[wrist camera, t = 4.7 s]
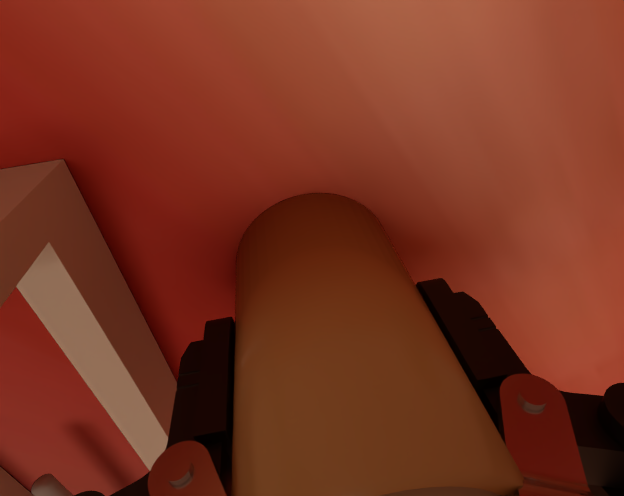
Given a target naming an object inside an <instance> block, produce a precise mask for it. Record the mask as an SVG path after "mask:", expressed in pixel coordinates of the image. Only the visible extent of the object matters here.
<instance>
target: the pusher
mask: <svg viewBox="0 0 624 496" xmlns="http://www.w3.org/2000/svg"><path fill="white" fill-rule="evenodd" d="M31 492H32V494H33V495H34V496H73V495H72V494H71V493H70V492H69V491H68V490H67V489H66V488H65V487H64V486H63V485H62V484H61V483H60V482H59V481H58V480H57V479H56V478H55V477H54V476H53V475H52V474H45V475H42V476H41V477H39V478H38V479H37V480H36V481H35V482H34V484H33V486H32V488H31Z"/></svg>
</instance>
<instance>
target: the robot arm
mask: <svg viewBox="0 0 624 496" xmlns="http://www.w3.org/2000/svg"><path fill="white" fill-rule="evenodd" d="M416 287H417V289H418V291H419V292H420V294H421V296H422V298H423V299H424V301H425V303H426V305H427V306H428V308H429V310H430V312H431V314H432V315H433V317H434V319H435V321H436V322H437V324H438V326H439V328H440V329H441V331H442V333H443V335H444V336H445V338H446V340H447V342H448V344H449V345H450V347H451V349H452V351H453V352H454V354H455V356H456V358H457V359H458V361H459V363H460V365H461V366H462V368H463V370H464V372H465V374H466V375H467V377H468V379H469V381H470V382H471V384H472V386H473V388H474V389H475V391H476V393H477V395H478V397H479V398H480V400H481V402H482V404H483V405H484V407H485V409H486V411H487V412H488V414H489V416H490V418H491V419H492V421H493V423H494V425H495V427H496V428H497V430H498V432H499V434H500V435H501V437H502V439H503V441H504V443H505V445H506V447H507V449H508V450H509V452H510V454H511V456H512V458H513V459H514V461H515V463H516V465H517V466H518V468H519V470H520V472H521V474H522V475H523V477H524V480H523V485H522V486H517V488H516V491H515V493H514V496H624V383H617V384H614V385H612V386H610V387H609V388H608V389H607V390H606V392H605V394H604V396H599V395H588V394H578V393H569V392H563V391H560V390H558V389H557V388H556V387H555V386H553V385H552V384H551V383H549V382H548V381H546V380H544V379H542V378H540V377H538V376H535V375H532V374H531V373H530V372H529V371H528V370H527V368H526V367H525V366H524V364H523V363H522V361H521V360H520V359H519V357H518V356H517V355H516V353H515V352H514V350H513V349H512V348H511V346H510V345H509V344H508V342H507V341H506V339H505V338H504V337H503V335H502V334H501V333H500V331H499V330H498V329H496V326H495V324H494V323H493V322H492V320H491V319H490V318H488V315H487V313H486V312H485V311H484V309H483V308H482V306H481V305H480V304H479V302H478V301H476V300H475V299H473V298H472V297H470V296H469V295H467V294H466V293H464V292H458V293H453V292H452V290H451V289H450V287H449V286H448V284H447V283H446V281H445V280H444V279H443V278H438V279H433V280H428V281H422V282H418V283H417V284H416ZM234 335H235V323H234V321H233V318H232V317H227V318H221V319H216V320H211V321H207V322H206V324H205V331H204V340H201V341H196V342H191V343H190V344H189V346H188V348H187V349H186V351H185V353H184V354H183V356H182V357H181V362H180V369H179V377H178V381H177V387H176V388H177V391H176V393H175V399H174V406H173V412H172V418H171V424H170V430H169V436H168V442H167V446H166V449H165V451H164V452H163V453H162V454H161V455H160V456H159V457H158V458H157V460H156V461H155V462H154V464H153V466H152V468H151V470H150V472H149V473H148V474H146V475H145V476H144V477H142V478H141V479H139V480H138V481H136V482H134V483H132V484H130V485H128V486H127V487H125V488H123V489H121V490H119V491H117V492H115V493H114V494H112V495H110V496H231V485H232V435H233V385H234ZM74 496H104V495H103V494H102V493H100V492H97V491H85V492H82V493H79V494H77V495H74Z"/></svg>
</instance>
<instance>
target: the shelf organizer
mask: <svg viewBox="0 0 624 496" xmlns="http://www.w3.org/2000/svg"><path fill="white" fill-rule="evenodd" d="M15 287H17V288H18V290H19V291H20V292H21V294H22V295H23V296H24V298H25V299H26V301H27V302H28V303H29V305H30V306H31V308H32V309H33V310H34V312H35V313H36V314H37V316H38V317H39V319H40V320H41V321H42V323H43V324H44V326H45V327H46V328H47V330H48V331H49V332H50V334H51V335H52V337H53V338H54V339H55V341H56V342H57V343H58V345H59V346H60V348H61V349H62V350H63V352H64V353H65V355H66V356H67V357H68V359H69V360H70V361H71V363H72V364H73V366H74V367H75V368H76V370H77V371H78V373H79V374H80V375H81V377H82V378H83V379H84V381H85V382H86V384H87V385H88V386H89V388H90V389H91V390H92V392H93V393H94V395H95V396H96V397H97V399H98V400H99V402H100V403H101V404H102V406H103V407H104V408H105V410H106V411H107V413H108V414H109V415H110V417H111V418H112V420H113V421H114V422H115V424H116V425H117V426H118V428H119V429H120V431H121V432H122V433H123V435H124V436H125V437H126V439H127V440H128V442H129V443H130V444H131V446H132V447H133V449H134V450H135V451H136V453H137V454H138V455H139V457H140V458H141V460H142V461H143V462H144V464H145V465H146V467H147V468H148V469H149V471H150V470H151V468H152V466H153V464H154V462H155V461H156V460H157V458H158V457H159V456H160V455H161V454H162V453H163V452H164V451H165V449H166V446H167V442H168V436H169V430H170V424H171V418H172V412H173V406H174V399H175V393H176V391H177V388H176V387H177V382H176V380H175V378H174V376H173V374H172V372H171V370H170V368H169V366H168V364H167V362H166V360H165V358H164V356H163V354H162V352H161V350H160V348H159V346H158V344H157V342H156V340H155V338H154V336H153V335H152V333H151V331H150V329H149V327H148V325H147V323H146V321H145V319H144V317H143V315H142V313H141V311H140V309H139V307H138V305H137V303H136V301H135V299H134V297H133V295H132V293H131V291H130V289H129V287H128V285H127V283H126V281H125V279H124V277H123V275H122V273H121V272H120V270H119V268H118V266H117V264H116V262H115V260H114V258H113V256H112V254H111V252H110V250H109V248H108V246H107V244H106V242H105V240H104V238H103V236H102V234H101V232H100V230H99V228H98V226H97V224H96V222H95V220H94V218H93V216H92V214H91V212H90V211H89V209H88V207H87V205H86V203H85V201H84V199H83V197H82V195H81V193H80V191H79V189H78V187H77V185H76V183H75V181H74V179H73V177H72V175H71V173H70V171H69V169H68V167H67V165H66V163H65V161H64V159H61V160H55V161H48V162H42V163H36V164H30V165H24V166H18V167H12V168H6V169H0V307H1V306H2V305H3V303H4V302H5V301H6V299H7V298H8V297H9V295H10V294H11V293H12V291H13V290H14V289H15ZM0 496H34V495H32V494H31V493H30V492H29V491H28V490H27V489H25V488H24V487H23V486H22V485H21V484H20V483H19V482H17V481H16V480H15V479H14V478H13V477H12V476H10V475H9V474H8V473H7V472H6V471H5V470H4V469H2V468H1V467H0Z"/></svg>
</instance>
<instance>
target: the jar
mask: <svg viewBox="0 0 624 496" xmlns="http://www.w3.org/2000/svg"><path fill="white" fill-rule="evenodd" d="M523 480H524V477H523V475H522V474H521V472H520V470H519V468H518V466H517V465H516V463H515V461H514V459H513V458H512V456H511V454H510V452H509V450H508V449H507V447H506V445H505V443H504V441H503V439H502V437H501V435H500V434H499V432H498V430H497V428H496V427H495V425H494V423H493V421H492V419H491V418H490V416H489V414H488V412H487V411H486V409H485V407H484V405H483V404H482V402H481V400H480V398H479V397H478V395H477V393H476V391H475V389H474V388H473V386H472V384H471V382H470V381H469V379H468V377H467V375H466V374H465V372H464V370H463V368H462V366H461V365H460V363H459V361H458V359H457V358H456V356H455V354H454V352H453V351H452V349H451V347H450V345H449V344H448V342H447V340H446V338H445V336H444V335H443V333H442V331H441V329H440V328H439V326H438V324H437V322H436V321H435V319H434V317H433V315H432V314H431V312H430V310H429V308H428V306H427V305H426V303H425V301H424V299H423V298H422V296H421V294H420V292H419V291H418V289H417V287H416V285H415V283H414V282H413V280H412V278H411V276H410V275H409V273H408V271H407V269H406V268H405V266H404V264H403V262H402V261H401V259H400V257H399V255H398V253H397V252H396V250H395V248H394V246H393V245H392V243H391V241H390V239H389V238H388V236H387V234H386V232H385V230H384V229H383V227H382V225H381V224H380V222H379V221H378V219H377V218H376V217H375V216H374V214H373V213H372V212H371V211H370V210H368V209H367V208H366V207H365V206H363V205H361V204H360V203H358V202H356V201H354V200H352V199H349V198H347V197H343V196H340V195H335V194H327V193H312V194H304V195H299V196H295V197H292V198H289V199H286V200H283V201H281V202H279V203H277V204H275V205H273V206H271V207H270V208H268V209H267V210H265V211H264V212H263V213H262V214H260V215H259V216H258V217H257V218H256V219H255V220H254V221H253V222H252V223H251V224H250V226H249V227H248V228H247V230H246V231H245V233H244V234H243V237H242V239H241V241H240V243H239V246H238V250H237V256H236V285H235V335H234V385H233V435H232V485H231V496H514V493H515V491H516V488H517V486H522V485H523Z"/></svg>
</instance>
